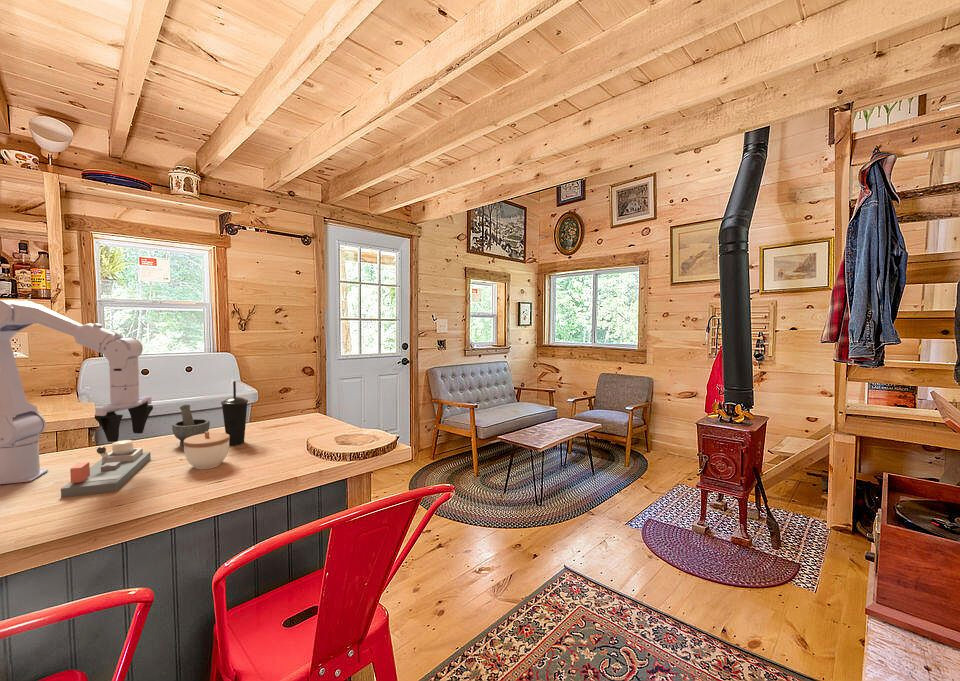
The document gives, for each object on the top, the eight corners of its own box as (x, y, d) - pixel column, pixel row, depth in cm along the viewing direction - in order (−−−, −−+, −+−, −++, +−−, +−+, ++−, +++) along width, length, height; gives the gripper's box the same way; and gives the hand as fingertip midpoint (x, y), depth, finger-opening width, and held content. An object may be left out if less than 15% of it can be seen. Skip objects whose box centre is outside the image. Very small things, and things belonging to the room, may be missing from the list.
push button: (109, 454, 115) (109, 445, 115) (116, 450, 119) (115, 441, 119) (129, 453, 117) (129, 444, 117) (135, 448, 121) (135, 439, 121)
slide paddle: (70, 483, 100) (70, 468, 100) (79, 476, 104) (78, 462, 103) (81, 481, 101) (81, 467, 100) (89, 475, 104) (89, 461, 104)
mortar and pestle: (214, 443, 139) (213, 406, 138) (180, 450, 131) (179, 411, 130) (200, 437, 145) (199, 401, 145) (167, 443, 138) (166, 405, 137)
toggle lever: (102, 462, 109) (93, 450, 108) (105, 460, 111) (97, 447, 110) (110, 459, 110) (101, 446, 109) (113, 457, 111) (104, 444, 111)
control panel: (61, 497, 98) (60, 482, 98) (106, 462, 120) (106, 450, 120) (116, 491, 101) (115, 476, 101) (150, 458, 124) (150, 446, 123)
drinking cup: (225, 440, 142) (223, 379, 141) (251, 439, 144) (250, 379, 143) (218, 447, 135) (217, 383, 133) (246, 445, 137) (245, 382, 136)
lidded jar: (237, 464, 121) (237, 430, 120) (195, 475, 112) (194, 439, 111) (218, 456, 127) (218, 424, 126) (176, 466, 118) (176, 432, 117)
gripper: (114, 390, 104) (115, 446, 105) (161, 381, 118) (162, 430, 119) (86, 389, 104) (87, 445, 105) (136, 380, 119) (138, 429, 120)
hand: (125, 437), depth 112 cm, fingers open, 7 cm apart
